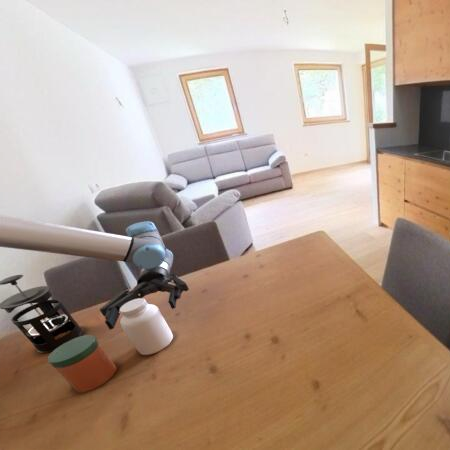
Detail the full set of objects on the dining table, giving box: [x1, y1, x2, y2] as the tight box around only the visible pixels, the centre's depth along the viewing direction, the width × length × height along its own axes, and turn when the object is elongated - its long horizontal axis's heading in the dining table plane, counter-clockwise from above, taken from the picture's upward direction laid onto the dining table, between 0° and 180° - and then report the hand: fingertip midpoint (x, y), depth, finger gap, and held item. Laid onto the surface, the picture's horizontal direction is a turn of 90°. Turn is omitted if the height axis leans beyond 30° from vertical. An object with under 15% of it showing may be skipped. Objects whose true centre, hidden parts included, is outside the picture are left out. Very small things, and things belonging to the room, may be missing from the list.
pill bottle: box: [119, 297, 174, 356], centre depth 77 cm, size 8×8×15 cm
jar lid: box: [47, 334, 100, 369], centre depth 67 cm, size 8×8×2 cm
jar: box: [54, 343, 117, 393], centre depth 69 cm, size 8×8×10 cm
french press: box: [0, 274, 85, 355], centre depth 78 cm, size 12×9×23 cm
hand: (141, 314), depth 77 cm, fingers open, 13 cm apart
